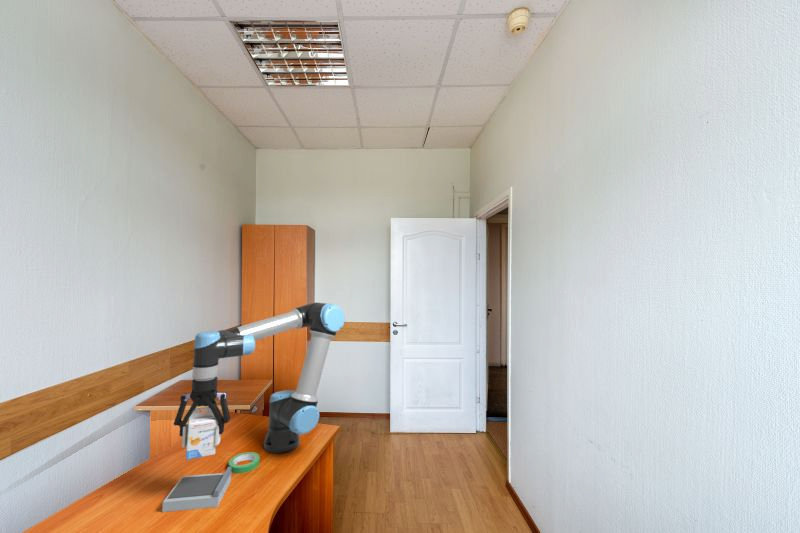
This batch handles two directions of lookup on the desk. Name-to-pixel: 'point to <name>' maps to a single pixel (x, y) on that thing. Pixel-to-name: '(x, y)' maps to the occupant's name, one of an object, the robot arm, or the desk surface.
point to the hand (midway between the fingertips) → (201, 444)
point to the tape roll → (247, 467)
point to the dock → (197, 492)
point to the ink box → (201, 434)
